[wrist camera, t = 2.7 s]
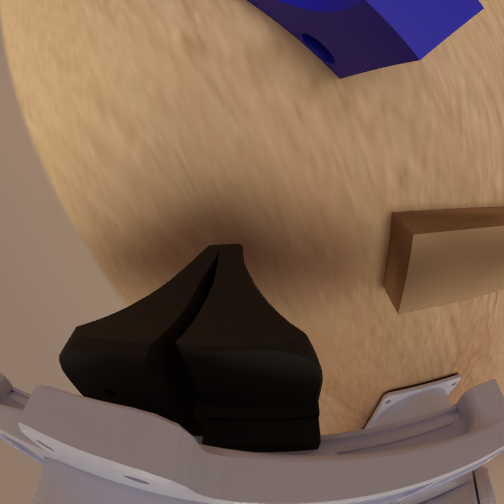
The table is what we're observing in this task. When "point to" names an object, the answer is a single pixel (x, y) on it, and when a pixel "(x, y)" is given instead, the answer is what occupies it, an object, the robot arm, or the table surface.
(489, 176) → the table surface
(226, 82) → the table surface
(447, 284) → the slat
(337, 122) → the table surface
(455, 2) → the cable clip
